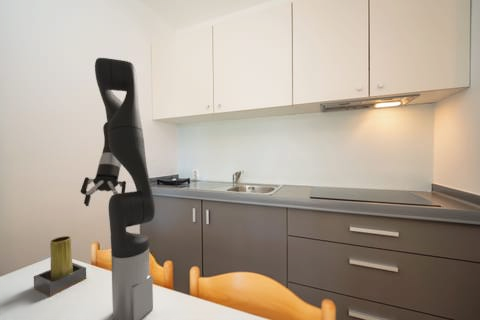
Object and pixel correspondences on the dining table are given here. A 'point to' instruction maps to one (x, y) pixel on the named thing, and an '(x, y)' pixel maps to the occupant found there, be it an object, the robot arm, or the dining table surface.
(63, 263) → the vase
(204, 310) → the dining table surface
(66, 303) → the dining table surface
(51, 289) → the square grey tray
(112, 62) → the robot arm
